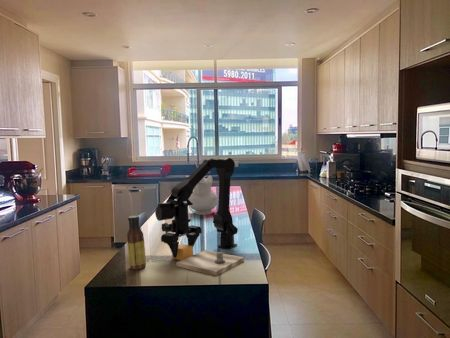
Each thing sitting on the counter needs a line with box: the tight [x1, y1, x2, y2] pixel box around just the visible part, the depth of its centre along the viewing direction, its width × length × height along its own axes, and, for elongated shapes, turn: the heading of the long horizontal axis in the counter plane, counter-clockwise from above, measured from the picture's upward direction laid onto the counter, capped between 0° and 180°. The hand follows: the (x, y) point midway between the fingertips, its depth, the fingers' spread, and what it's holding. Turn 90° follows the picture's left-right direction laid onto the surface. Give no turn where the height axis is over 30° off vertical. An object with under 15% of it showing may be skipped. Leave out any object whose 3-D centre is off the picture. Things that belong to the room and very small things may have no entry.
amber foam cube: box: [171, 243, 194, 261], centre depth 150 cm, size 6×6×4 cm
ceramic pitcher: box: [188, 174, 219, 216], centre depth 238 cm, size 22×20×25 cm
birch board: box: [176, 249, 245, 276], centre depth 142 cm, size 18×19×5 cm
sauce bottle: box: [126, 215, 147, 271], centre depth 139 cm, size 7×6×20 cm
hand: (182, 254), depth 151 cm, fingers open, 9 cm apart
